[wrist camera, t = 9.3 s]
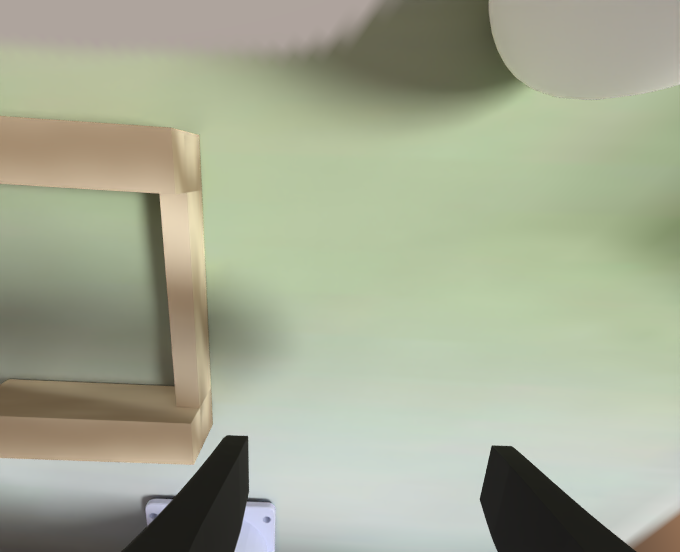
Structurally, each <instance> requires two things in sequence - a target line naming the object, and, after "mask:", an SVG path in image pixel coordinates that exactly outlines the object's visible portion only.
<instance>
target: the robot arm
mask: <svg viewBox="0 0 680 552" xmlns="http://www.w3.org/2000/svg"><path fill="white" fill-rule="evenodd" d="M248 493H249V466H248V436H231V435H227V436H226V437H224V438H223V439H222V441H221V442H220V443H219V445H218V446H217V447H216V449H215V450H214V451H213V452H212V454H211V455H210V456H209V457H208V459H207V460H206V461H205V462H204V464H203V465H202V466H201V467H200V469H199V470H198V471H197V472H196V473H195V475H194V476H193V477H192V478H191V479H190V480H189V481H188V483H187V484H186V485H185V486H184V487H183V488H182V490H181V491H180V492H179V493H178V494H177V495H176V496H175V498H174V499H151V500H149V502H148V503H147V505H146V507H145V512H146V520H147V527H146V528H145V529H144V530H143V531H142V532H141V533H140V534H139V535H138V536H137V537H136V538H135V539H134V540H133V541H132V542H131V543H130V544H129V545H128V546H127V547H126V548H125V549H124V550H123V551H122V552H275V513H276V509H275V506H274V505H273V504H272V503H269V502H247V498H248ZM480 502H481V505H482V508H483V512H484V515H485V518H486V521H487V524H488V527H489V531H490V534H491V537H492V539H493V542H494V544H495V546H496V549H497V551H498V552H636V551H635V550H634V549H632V548H631V547H630V546H628V545H627V544H626V543H625V542H623V541H622V540H621V539H620V538H618V537H617V536H616V535H615V534H613V533H612V532H611V531H610V530H608V529H607V528H606V527H605V526H603V525H602V524H601V523H600V522H599V521H597V520H596V519H595V518H594V517H593V516H591V515H590V514H589V513H588V512H587V511H586V510H584V509H583V508H582V507H581V506H580V505H578V504H577V503H576V502H575V501H574V500H573V499H572V498H570V497H569V496H568V495H567V494H566V493H565V492H564V491H562V490H561V489H560V488H559V487H558V486H557V485H556V484H554V483H553V482H552V481H551V480H550V479H549V478H548V477H547V476H545V475H544V474H543V473H542V472H541V471H540V470H539V469H538V468H537V467H535V466H534V465H533V464H532V463H531V462H530V461H529V460H527V459H526V458H525V457H524V456H523V455H522V454H521V453H519V452H518V451H517V450H516V449H515V448H513V447H512V446H492V447H491V451H490V456H489V460H488V465H487V469H486V474H485V478H484V483H483V487H482V492H481V496H480ZM266 516H267V517H266Z"/></svg>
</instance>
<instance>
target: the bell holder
mask: <svg viewBox="0 0 680 552" xmlns="http://www.w3.org/2000/svg"><path fill="white" fill-rule="evenodd" d="M0 184H14V185H30V186H47V187H63V188H79V189H95V190H112V191H128V192H144V193H159V194H160V207H161V219H162V232H163V245H164V257H165V270H166V282H167V295H168V307H169V320H170V332H171V345H172V358H173V370H174V383H175V386H157V385H134V384H111V383H88V382H64V381H41V380H18V379H8V380H7V381H5V382H4V383H2V384H1V385H0V458H17V459H45V460H73V461H101V462H130V463H158V464H186V465H194V463H195V461H196V459H197V457H198V455H199V453H200V450H201V448H202V446H203V444H204V442H205V440H206V438H207V436H208V434H209V431H210V429H211V427H212V425H213V419H212V398H211V376H210V355H209V333H208V312H207V290H206V269H205V247H204V226H203V204H202V183H201V161H200V140H199V135H197V134H193V133H190V132H186V131H182V130H178V129H174V128H168V127H153V126H138V125H124V124H109V123H94V122H79V121H65V120H50V119H35V118H21V117H6V116H0Z"/></svg>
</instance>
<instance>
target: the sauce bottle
mask: <svg viewBox="0 0 680 552" xmlns="http://www.w3.org/2000/svg"><path fill="white" fill-rule="evenodd" d="M489 17H490V24H491V31H492V35H493V38H494V41H495V44H496V48H497V50H498V52H499V54H500V56H501V58H502V60H503V62H504V64H505V65H506V66H507V68H508V69H509V70H510V71H511V72H512V74H513V75H514V76H515V77H516V78H517V79H519V80H520V81H521V82H523V83H524V84H525V85H527V86H528V87H530V88H531V89H533V90H536V91H539V92H542V93H545V94H547V95H550V96H553V97H558V98H568V99H580V100H599V99H607V98H615V97H623V96H631V95H638V94H643V93H648V92H653V91H657V90H661V89H665V88H669V87H672V86H676V85H679V84H680V0H489Z"/></svg>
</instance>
